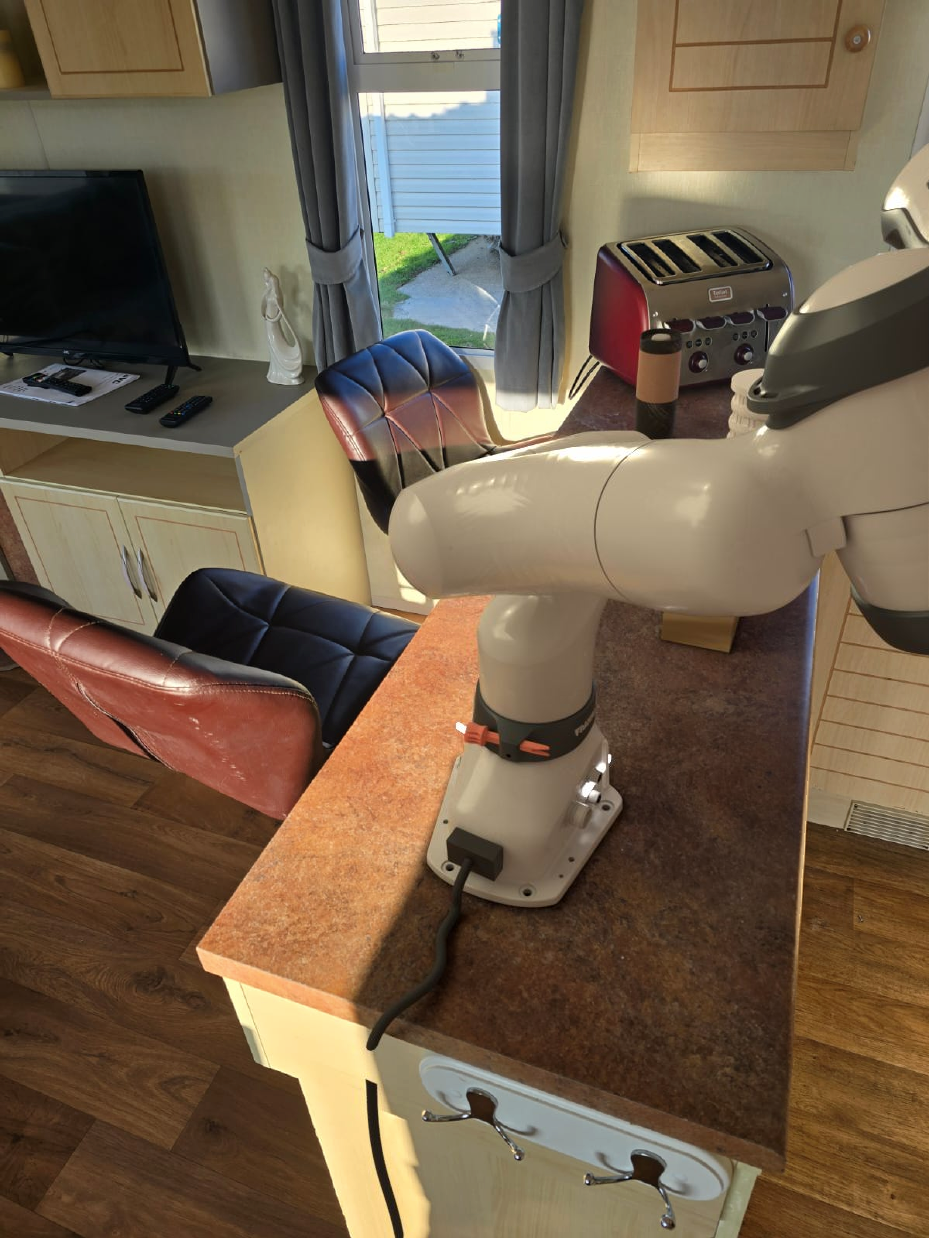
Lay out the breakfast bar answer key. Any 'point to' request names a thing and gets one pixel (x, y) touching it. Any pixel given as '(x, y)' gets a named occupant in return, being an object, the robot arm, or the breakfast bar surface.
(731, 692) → the breakfast bar surface
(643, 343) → the travel mug
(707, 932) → the breakfast bar surface
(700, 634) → the rack
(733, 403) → the decorative container
